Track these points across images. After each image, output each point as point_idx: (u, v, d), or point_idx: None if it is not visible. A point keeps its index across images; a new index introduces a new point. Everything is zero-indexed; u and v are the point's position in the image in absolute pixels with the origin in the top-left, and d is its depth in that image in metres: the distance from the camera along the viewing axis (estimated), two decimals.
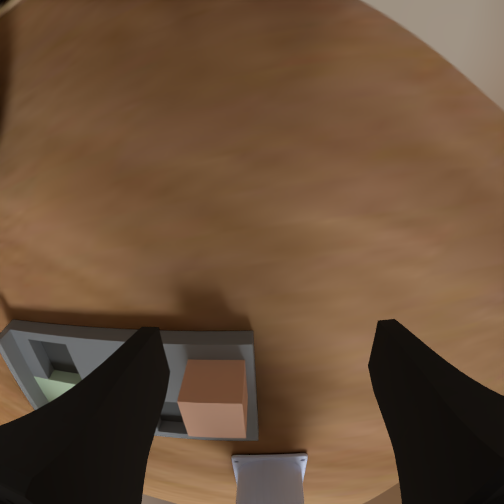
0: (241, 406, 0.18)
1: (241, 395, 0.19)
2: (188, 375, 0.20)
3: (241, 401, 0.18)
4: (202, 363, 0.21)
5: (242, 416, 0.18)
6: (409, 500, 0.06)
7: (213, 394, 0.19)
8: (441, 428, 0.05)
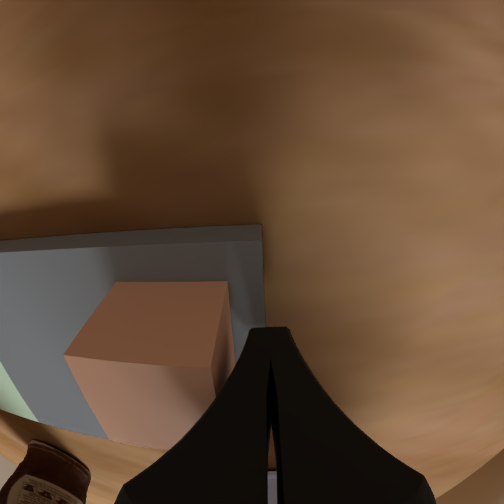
0: (209, 376, 0.07)
1: (210, 348, 0.08)
2: (106, 307, 0.09)
3: (209, 362, 0.07)
4: (140, 287, 0.10)
5: None
6: None
7: (143, 345, 0.08)
8: (279, 453, 0.05)
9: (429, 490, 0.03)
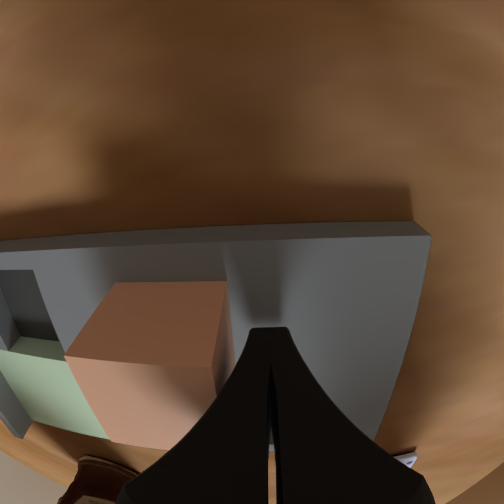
0: (210, 375, 0.07)
1: (211, 347, 0.08)
2: (106, 307, 0.09)
3: (209, 361, 0.07)
4: (140, 287, 0.10)
5: None
6: None
7: (143, 345, 0.08)
8: (278, 453, 0.05)
9: (428, 490, 0.03)
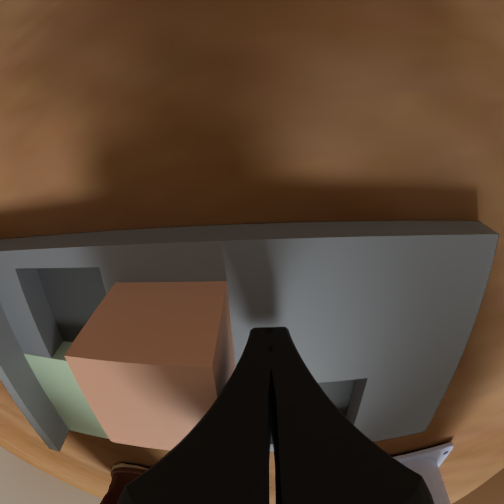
0: (210, 375, 0.07)
1: (212, 347, 0.08)
2: (106, 307, 0.09)
3: (210, 361, 0.07)
4: (140, 287, 0.10)
5: None
6: None
7: (144, 345, 0.08)
8: (277, 453, 0.05)
9: (427, 491, 0.03)
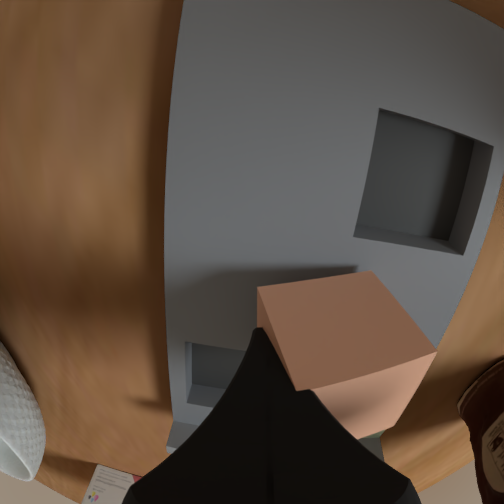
0: None
1: (288, 372, 0.07)
2: None
3: (295, 387, 0.07)
4: None
5: (351, 380, 0.07)
6: None
7: None
8: None
9: (414, 494, 0.03)
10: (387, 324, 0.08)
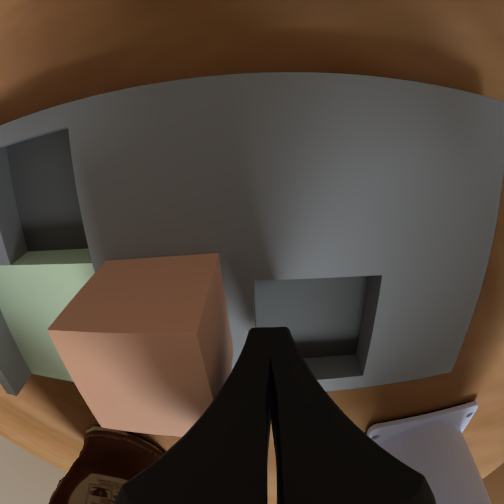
0: (196, 343, 0.07)
1: (198, 314, 0.07)
2: (93, 283, 0.09)
3: (195, 328, 0.07)
4: (129, 263, 0.10)
5: (204, 377, 0.07)
6: None
7: (127, 315, 0.07)
8: (279, 453, 0.05)
9: (429, 490, 0.03)
10: None
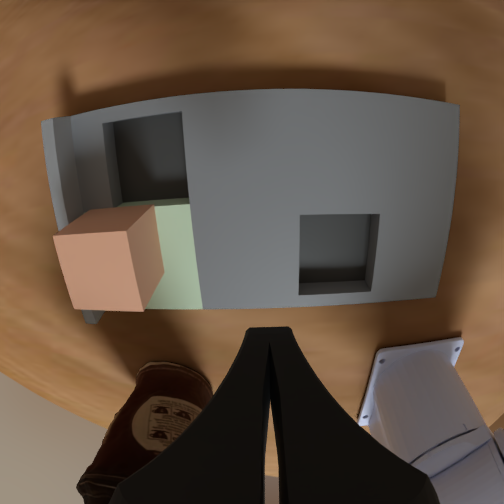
0: (126, 237, 0.13)
1: (130, 225, 0.13)
2: (81, 218, 0.15)
3: (126, 229, 0.13)
4: (103, 210, 0.16)
5: (130, 260, 0.13)
6: None
7: (96, 227, 0.14)
8: (282, 452, 0.05)
9: (432, 489, 0.03)
10: (148, 280, 0.15)
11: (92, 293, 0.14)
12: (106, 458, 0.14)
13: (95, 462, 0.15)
